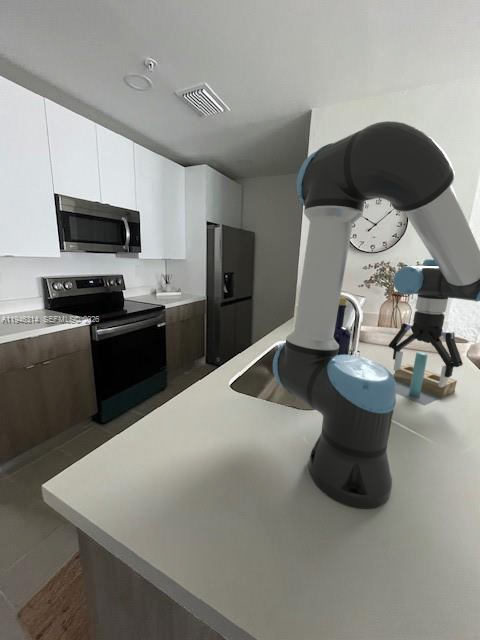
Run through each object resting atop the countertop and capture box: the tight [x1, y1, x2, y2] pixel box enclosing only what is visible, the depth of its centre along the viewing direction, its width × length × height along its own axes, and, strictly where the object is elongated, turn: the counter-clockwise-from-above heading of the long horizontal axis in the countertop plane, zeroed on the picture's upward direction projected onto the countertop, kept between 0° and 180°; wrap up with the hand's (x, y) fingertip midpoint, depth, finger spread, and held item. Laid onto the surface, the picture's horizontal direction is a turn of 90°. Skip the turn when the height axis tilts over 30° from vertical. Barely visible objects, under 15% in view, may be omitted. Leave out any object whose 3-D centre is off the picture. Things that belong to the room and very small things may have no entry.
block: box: [393, 363, 458, 398], centre depth 95 cm, size 8×16×4 cm, turn 30°
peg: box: [409, 351, 429, 397], centre depth 86 cm, size 3×3×14 cm
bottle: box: [333, 296, 352, 355], centre depth 94 cm, size 9×9×30 cm
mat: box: [392, 373, 452, 406], centre depth 94 cm, size 20×18×1 cm
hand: (417, 377), depth 86 cm, fingers open, 13 cm apart
